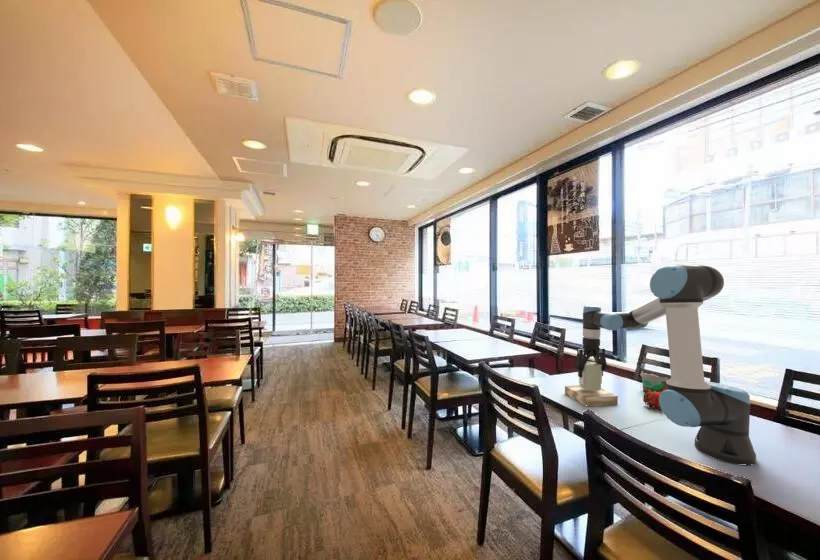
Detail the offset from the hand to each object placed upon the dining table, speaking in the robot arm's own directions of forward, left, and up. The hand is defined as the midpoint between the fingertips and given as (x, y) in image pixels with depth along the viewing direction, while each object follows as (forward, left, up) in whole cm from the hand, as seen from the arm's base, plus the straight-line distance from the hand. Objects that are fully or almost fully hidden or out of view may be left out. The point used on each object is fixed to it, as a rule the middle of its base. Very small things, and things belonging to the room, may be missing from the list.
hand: (590, 383), depth 158 cm
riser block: (0, 0, -8) cm, 8 cm away
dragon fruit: (-14, -23, -8) cm, 28 cm away
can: (0, 0, -2) cm, 2 cm away
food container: (+1, -36, -8) cm, 37 cm away
